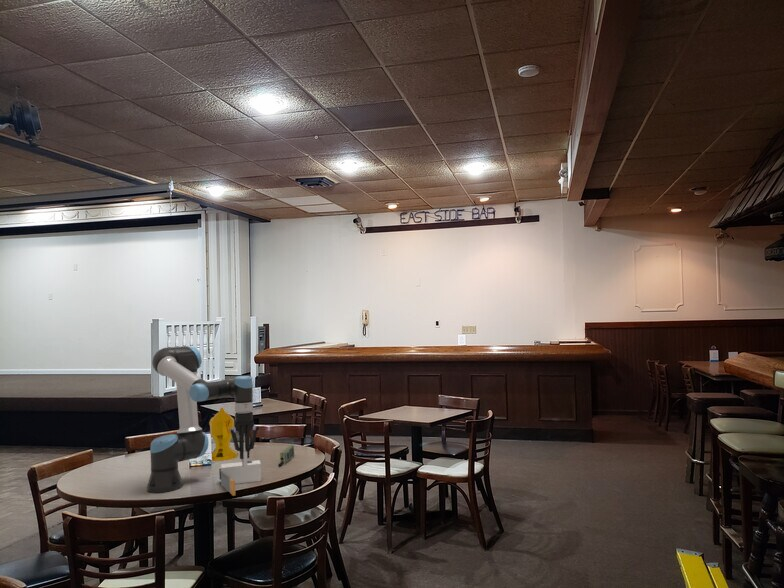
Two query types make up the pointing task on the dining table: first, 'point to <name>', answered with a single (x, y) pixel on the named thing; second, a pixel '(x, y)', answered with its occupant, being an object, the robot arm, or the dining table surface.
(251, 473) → the camera housing
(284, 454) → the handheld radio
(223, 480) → the side door
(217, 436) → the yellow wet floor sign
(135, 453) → the dining table surface
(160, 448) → the robot arm
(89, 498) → the dining table surface
